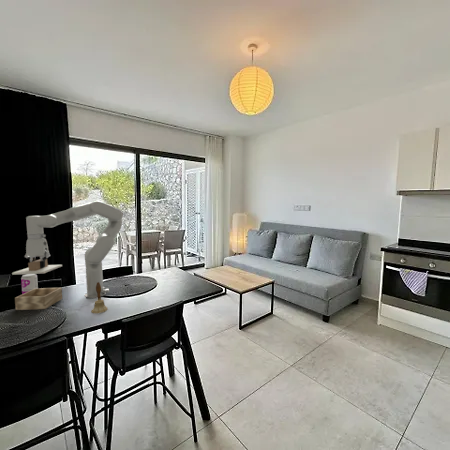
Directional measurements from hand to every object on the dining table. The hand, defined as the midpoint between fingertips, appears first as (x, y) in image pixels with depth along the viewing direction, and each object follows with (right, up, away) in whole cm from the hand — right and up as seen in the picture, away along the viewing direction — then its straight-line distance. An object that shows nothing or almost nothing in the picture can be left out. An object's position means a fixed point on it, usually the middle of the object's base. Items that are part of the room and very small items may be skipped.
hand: (38, 267), depth 147 cm
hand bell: (+40, -23, -8) cm, 46 cm away
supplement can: (-17, -22, +15) cm, 32 cm away
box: (0, -23, +1) cm, 23 cm away
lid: (0, -2, 0) cm, 1 cm away
